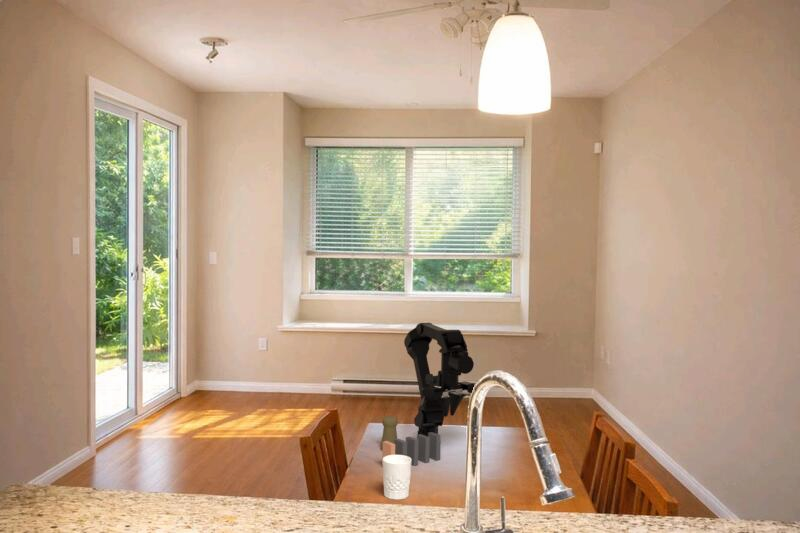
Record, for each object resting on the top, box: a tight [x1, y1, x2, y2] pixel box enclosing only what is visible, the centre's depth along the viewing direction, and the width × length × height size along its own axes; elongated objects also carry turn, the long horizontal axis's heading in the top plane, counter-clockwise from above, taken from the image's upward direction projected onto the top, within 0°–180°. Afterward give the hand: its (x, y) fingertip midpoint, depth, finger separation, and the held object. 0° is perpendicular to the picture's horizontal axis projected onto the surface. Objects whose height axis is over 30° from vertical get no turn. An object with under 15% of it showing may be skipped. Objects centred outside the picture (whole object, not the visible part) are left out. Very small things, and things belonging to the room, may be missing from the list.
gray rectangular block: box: [428, 432, 442, 462], centre depth 217 cm, size 2×4×8 cm, turn 37°
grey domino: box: [416, 434, 430, 464], centre depth 215 cm, size 2×4×8 cm, turn 37°
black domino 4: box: [394, 438, 407, 456], centre depth 209 cm, size 2×4×8 cm, turn 37°
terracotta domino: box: [381, 441, 395, 469], centre depth 207 cm, size 2×4×8 cm, turn 36°
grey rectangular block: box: [405, 436, 419, 467], centre depth 212 cm, size 2×4×8 cm, turn 37°
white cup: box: [382, 455, 412, 500], centre depth 185 cm, size 8×8×10 cm
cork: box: [380, 415, 399, 451], centre depth 227 cm, size 6×6×11 cm
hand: (448, 415), depth 221 cm, fingers open, 2 cm apart
